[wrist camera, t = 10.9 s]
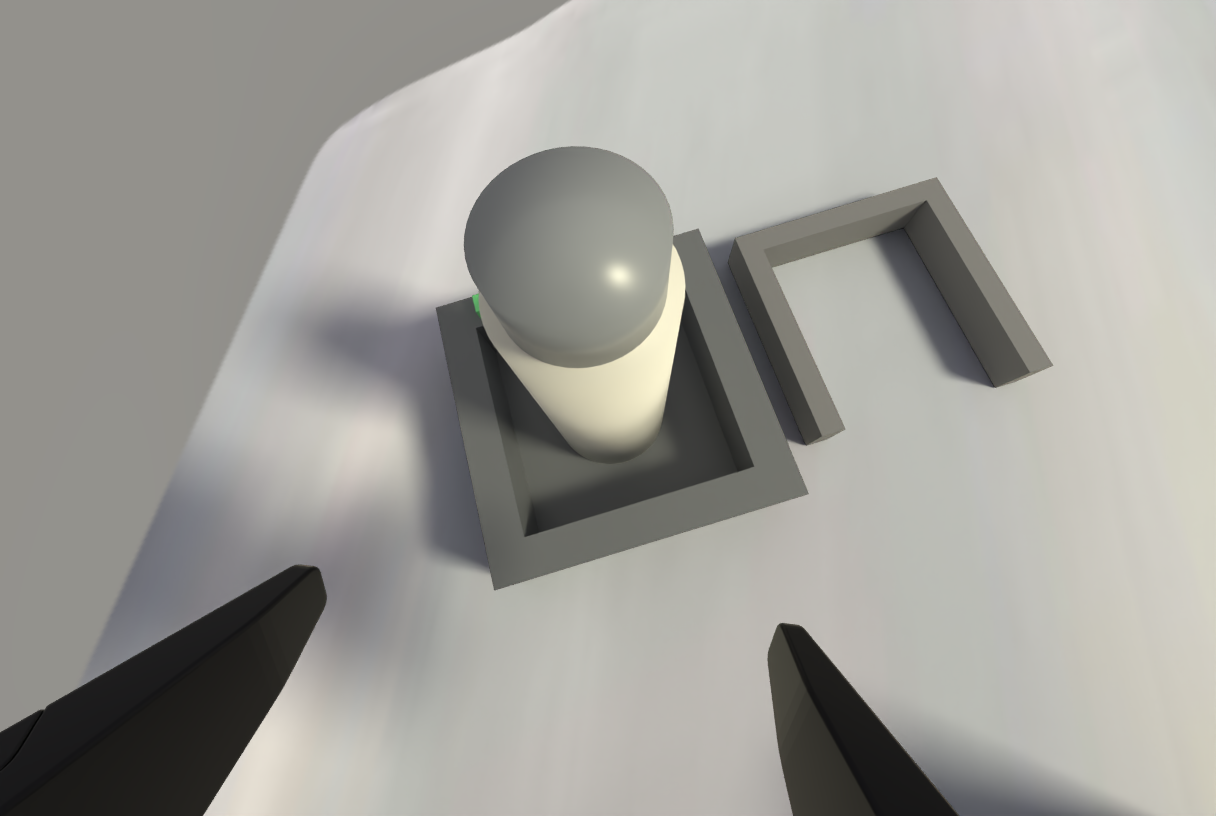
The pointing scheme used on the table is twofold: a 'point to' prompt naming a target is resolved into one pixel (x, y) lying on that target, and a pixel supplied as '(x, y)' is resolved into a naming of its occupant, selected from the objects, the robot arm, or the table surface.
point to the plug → (582, 293)
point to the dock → (629, 491)
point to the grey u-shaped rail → (944, 253)
